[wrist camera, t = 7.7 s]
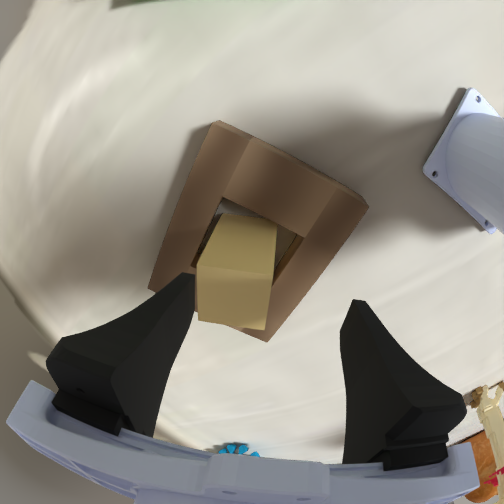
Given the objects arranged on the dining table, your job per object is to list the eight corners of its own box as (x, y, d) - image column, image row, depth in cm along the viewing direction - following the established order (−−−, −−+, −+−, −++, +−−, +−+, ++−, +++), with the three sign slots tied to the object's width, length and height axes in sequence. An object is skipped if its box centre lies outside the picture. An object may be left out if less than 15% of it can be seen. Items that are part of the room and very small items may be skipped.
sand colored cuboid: (277, 219, 21) (273, 275, 15) (271, 266, 23) (264, 330, 17) (222, 213, 21) (196, 264, 15) (220, 260, 23) (198, 320, 17)
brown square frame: (362, 196, 20) (369, 207, 18) (268, 326, 26) (267, 342, 25) (219, 120, 18) (212, 123, 16) (156, 274, 25) (147, 288, 23)
